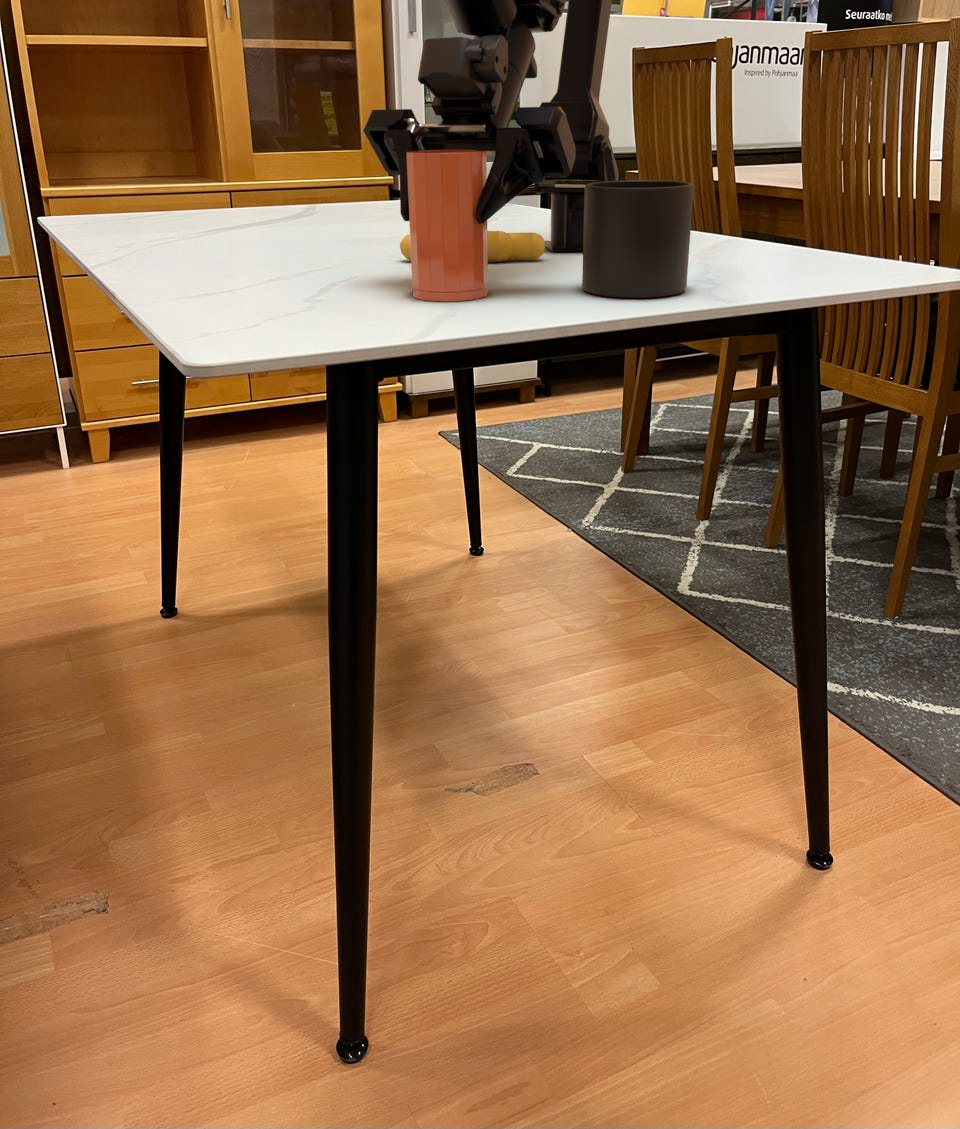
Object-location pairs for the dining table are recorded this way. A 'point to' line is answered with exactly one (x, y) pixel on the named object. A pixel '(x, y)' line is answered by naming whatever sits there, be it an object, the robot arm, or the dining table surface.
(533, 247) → the yellow ridged dog toy
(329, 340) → the dining table surface
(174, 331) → the dining table surface
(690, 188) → the mug
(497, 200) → the robot arm
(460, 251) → the pot
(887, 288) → the dining table surface
